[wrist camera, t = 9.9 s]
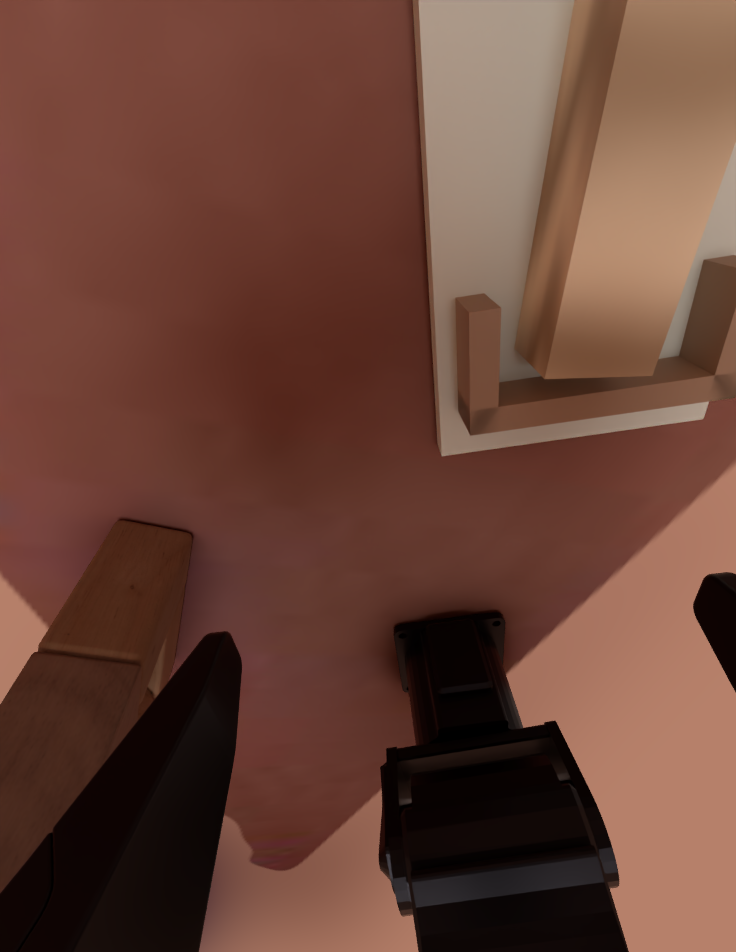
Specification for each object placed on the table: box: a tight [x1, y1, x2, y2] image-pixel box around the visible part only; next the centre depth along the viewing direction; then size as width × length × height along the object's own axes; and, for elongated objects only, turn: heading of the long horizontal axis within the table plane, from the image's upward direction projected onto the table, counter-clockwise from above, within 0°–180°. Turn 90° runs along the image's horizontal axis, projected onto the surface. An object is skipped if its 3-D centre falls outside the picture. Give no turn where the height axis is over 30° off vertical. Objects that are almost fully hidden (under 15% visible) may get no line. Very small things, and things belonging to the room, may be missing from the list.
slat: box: [514, 0, 736, 379], centre depth 12 cm, size 14×4×3 cm, turn 1°
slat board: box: [413, 0, 736, 456], centre depth 13 cm, size 22×11×3 cm, turn 8°
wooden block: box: [0, 520, 192, 892], centre depth 17 cm, size 4×11×18 cm, turn 162°
